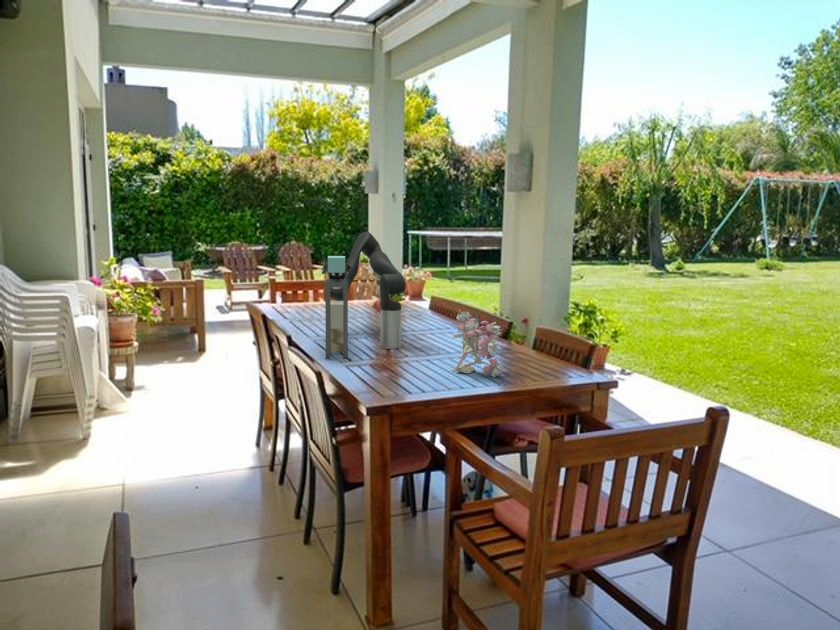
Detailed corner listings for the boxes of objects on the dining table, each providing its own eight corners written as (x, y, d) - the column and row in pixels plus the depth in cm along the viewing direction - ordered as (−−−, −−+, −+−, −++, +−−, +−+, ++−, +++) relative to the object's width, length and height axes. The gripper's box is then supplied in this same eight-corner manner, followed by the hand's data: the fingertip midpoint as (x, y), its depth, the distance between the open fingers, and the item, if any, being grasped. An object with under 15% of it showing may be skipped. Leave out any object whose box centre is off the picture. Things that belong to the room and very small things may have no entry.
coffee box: (465, 348, 294) (466, 313, 292) (479, 349, 293) (480, 314, 290) (462, 353, 285) (463, 316, 283) (476, 353, 284) (477, 317, 281)
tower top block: (346, 323, 293) (346, 300, 291) (346, 328, 281) (346, 304, 279) (328, 323, 292) (328, 300, 290) (327, 328, 280) (327, 304, 278)
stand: (347, 353, 280) (347, 279, 275) (347, 359, 269) (347, 282, 264) (326, 353, 279) (326, 279, 274) (325, 359, 268) (325, 282, 263)
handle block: (344, 268, 285) (344, 254, 284) (345, 272, 264) (345, 257, 263) (328, 268, 284) (328, 254, 283) (327, 272, 263) (327, 257, 262)
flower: (455, 380, 232) (487, 318, 230) (429, 360, 252) (459, 303, 250) (497, 398, 241) (528, 338, 240) (469, 378, 261) (497, 322, 260)
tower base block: (346, 346, 294) (346, 323, 293) (346, 352, 282) (346, 328, 281) (328, 346, 293) (328, 323, 292) (327, 352, 281) (327, 328, 280)
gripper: (321, 270, 295) (320, 253, 279) (352, 270, 296) (353, 253, 280) (321, 285, 292) (319, 269, 276) (352, 285, 294) (353, 269, 278)
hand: (336, 261), depth 278 cm, fingers closed on handle block, 3 cm apart
